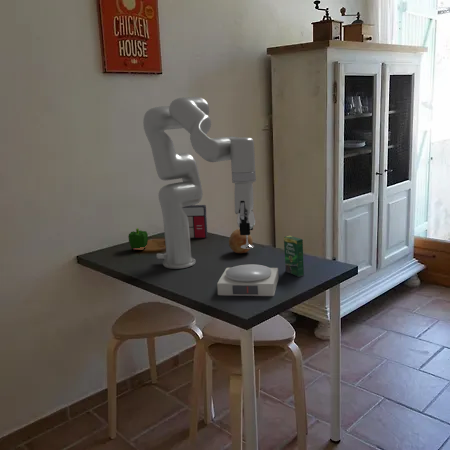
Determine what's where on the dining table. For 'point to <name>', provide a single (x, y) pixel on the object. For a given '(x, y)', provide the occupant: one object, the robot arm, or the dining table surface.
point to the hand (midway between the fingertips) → (246, 231)
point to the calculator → (196, 220)
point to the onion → (239, 241)
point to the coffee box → (294, 255)
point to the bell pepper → (138, 239)
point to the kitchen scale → (248, 281)
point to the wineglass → (252, 223)
